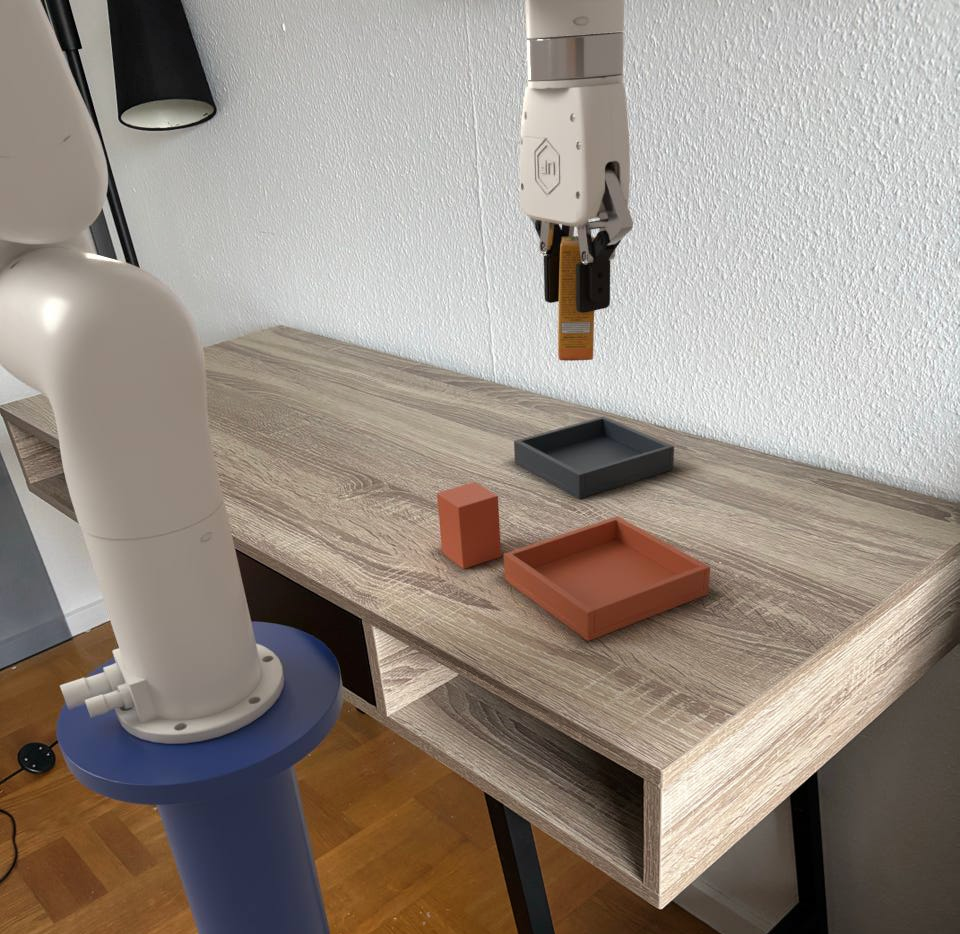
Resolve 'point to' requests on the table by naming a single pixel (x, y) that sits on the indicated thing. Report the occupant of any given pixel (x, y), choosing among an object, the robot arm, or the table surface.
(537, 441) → the slate tray
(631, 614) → the terracotta tray
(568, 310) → the supplement box
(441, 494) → the terracotta block
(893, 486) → the table surface
